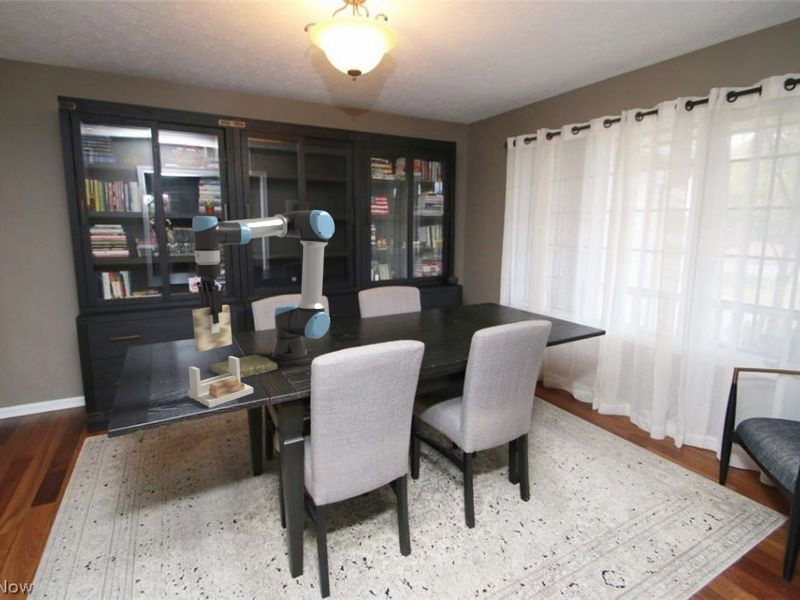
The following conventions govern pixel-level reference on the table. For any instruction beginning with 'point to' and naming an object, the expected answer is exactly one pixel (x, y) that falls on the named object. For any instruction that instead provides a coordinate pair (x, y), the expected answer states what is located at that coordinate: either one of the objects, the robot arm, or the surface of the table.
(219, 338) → the birch board
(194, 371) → the board rack
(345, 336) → the table surface
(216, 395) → the offcut lower
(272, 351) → the robot arm
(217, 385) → the offcut upper
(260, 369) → the decorative tile
